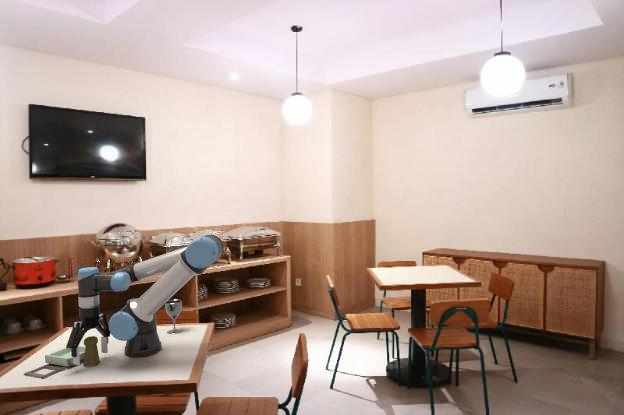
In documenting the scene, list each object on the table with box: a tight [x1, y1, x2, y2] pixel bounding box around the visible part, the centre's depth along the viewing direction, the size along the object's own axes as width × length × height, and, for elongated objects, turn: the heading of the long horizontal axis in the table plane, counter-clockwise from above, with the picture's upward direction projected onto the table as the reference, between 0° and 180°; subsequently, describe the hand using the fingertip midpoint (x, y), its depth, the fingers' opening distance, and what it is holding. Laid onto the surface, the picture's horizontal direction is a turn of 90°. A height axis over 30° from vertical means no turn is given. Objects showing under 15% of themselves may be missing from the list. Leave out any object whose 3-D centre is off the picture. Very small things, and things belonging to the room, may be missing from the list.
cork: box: [83, 335, 101, 368], centre depth 177 cm, size 6×6×11 cm
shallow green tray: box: [44, 345, 85, 367], centre depth 180 cm, size 13×13×3 cm
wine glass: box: [164, 299, 183, 335], centre depth 217 cm, size 8×8×15 cm
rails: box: [23, 360, 84, 379], centre depth 176 cm, size 11×23×1 cm, turn 159°
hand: (91, 358), depth 177 cm, fingers open, 13 cm apart
